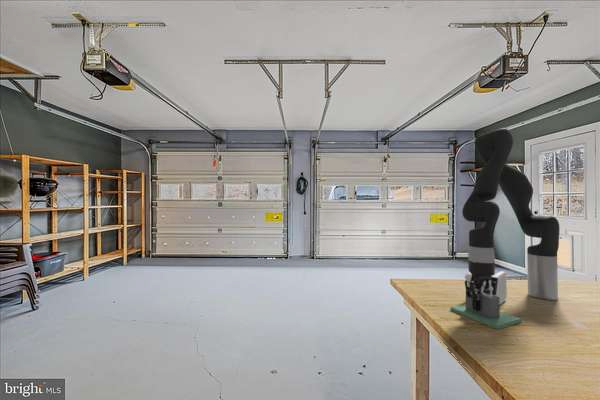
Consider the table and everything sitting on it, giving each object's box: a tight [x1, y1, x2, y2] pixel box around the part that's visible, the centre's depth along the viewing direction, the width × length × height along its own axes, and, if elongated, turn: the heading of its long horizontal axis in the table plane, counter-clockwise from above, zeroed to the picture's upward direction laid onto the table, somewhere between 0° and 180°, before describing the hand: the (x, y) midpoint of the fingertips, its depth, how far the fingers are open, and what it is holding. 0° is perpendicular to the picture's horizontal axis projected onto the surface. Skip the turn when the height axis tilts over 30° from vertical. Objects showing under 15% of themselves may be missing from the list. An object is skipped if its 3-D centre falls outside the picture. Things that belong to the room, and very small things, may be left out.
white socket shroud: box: [464, 270, 508, 305], centre depth 107 cm, size 15×11×12 cm
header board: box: [450, 303, 522, 330], centre depth 93 cm, size 12×16×5 cm
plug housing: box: [465, 292, 501, 319], centre depth 93 cm, size 4×9×7 cm, turn 22°
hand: (481, 308), depth 93 cm, fingers open, 5 cm apart
